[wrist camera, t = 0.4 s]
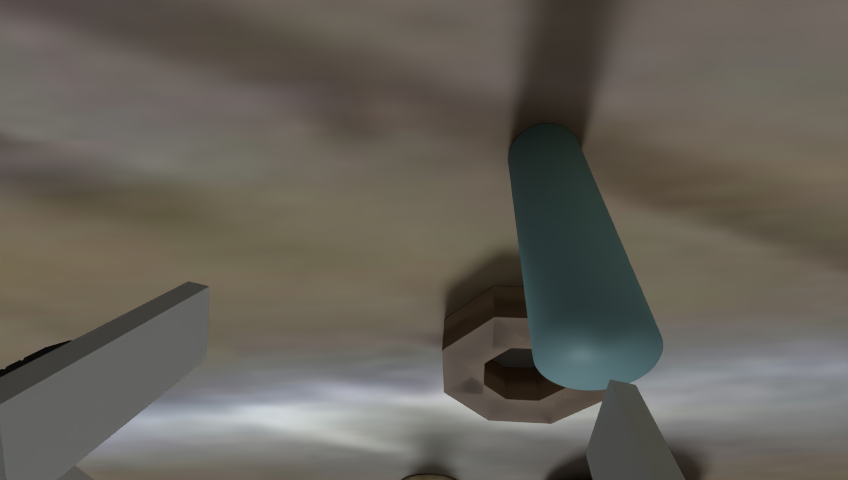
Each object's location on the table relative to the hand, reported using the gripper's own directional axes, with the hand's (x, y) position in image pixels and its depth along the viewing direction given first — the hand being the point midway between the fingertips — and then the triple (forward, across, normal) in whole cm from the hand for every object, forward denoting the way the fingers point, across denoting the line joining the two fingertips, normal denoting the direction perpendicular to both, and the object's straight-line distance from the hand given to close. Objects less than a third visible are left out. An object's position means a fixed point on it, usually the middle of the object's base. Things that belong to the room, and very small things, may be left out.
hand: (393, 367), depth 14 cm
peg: (+14, +5, +7) cm, 16 cm away
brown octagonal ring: (+20, +7, -8) cm, 23 cm away
